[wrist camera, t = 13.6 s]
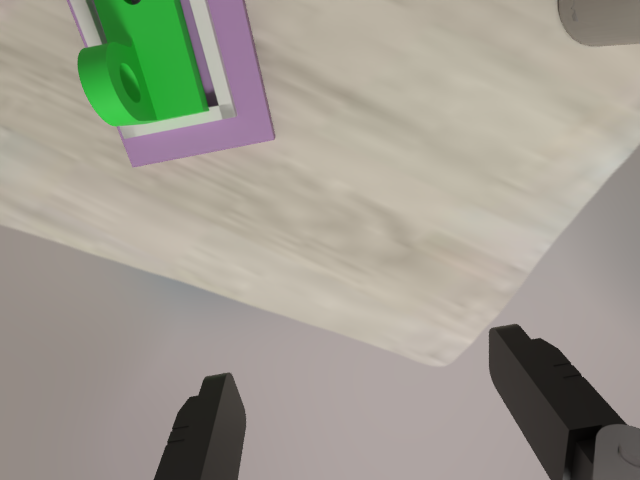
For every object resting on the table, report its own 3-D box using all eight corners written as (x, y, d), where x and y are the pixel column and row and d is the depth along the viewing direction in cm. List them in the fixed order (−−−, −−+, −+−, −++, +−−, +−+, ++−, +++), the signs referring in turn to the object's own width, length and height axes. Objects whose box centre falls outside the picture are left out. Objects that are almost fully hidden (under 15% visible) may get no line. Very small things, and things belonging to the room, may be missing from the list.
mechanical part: (209, 111, 34) (180, 111, 26) (144, 124, 34) (97, 127, 27) (167, -47, 30) (119, -100, 23) (94, -31, 30) (23, -78, 23)
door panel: (216, -121, 30) (208, -140, 27) (275, 136, 38) (273, 141, 35) (45, -83, 30) (20, -97, 28) (140, 163, 39) (127, 170, 36)
